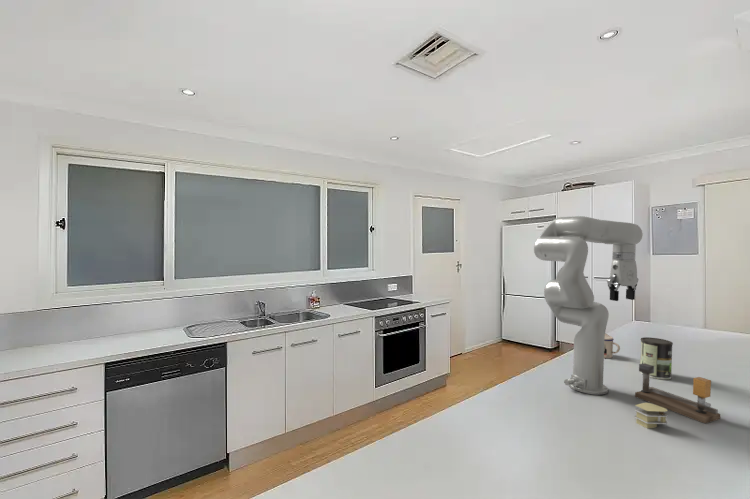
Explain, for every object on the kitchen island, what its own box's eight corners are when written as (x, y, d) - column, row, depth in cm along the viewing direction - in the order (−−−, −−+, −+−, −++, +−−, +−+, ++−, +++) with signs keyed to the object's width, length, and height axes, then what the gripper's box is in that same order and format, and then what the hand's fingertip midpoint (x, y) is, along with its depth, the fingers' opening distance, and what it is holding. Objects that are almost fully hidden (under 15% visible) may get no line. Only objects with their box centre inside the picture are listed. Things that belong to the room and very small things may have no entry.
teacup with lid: (586, 354, 175) (587, 330, 175) (595, 351, 180) (596, 327, 180) (615, 361, 165) (615, 335, 165) (623, 358, 171) (624, 333, 170)
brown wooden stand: (705, 423, 109) (706, 387, 109) (633, 396, 128) (634, 365, 128) (720, 418, 112) (721, 383, 112) (648, 392, 131) (649, 362, 131)
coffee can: (671, 374, 150) (672, 340, 150) (671, 381, 142) (673, 345, 141) (639, 368, 156) (641, 335, 156) (639, 375, 148) (640, 340, 148)
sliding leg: (704, 413, 111) (705, 381, 111) (692, 409, 114) (693, 378, 114) (713, 410, 113) (714, 379, 113) (701, 406, 116) (702, 376, 116)
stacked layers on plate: (652, 436, 102) (653, 416, 102) (623, 420, 111) (623, 402, 110) (679, 431, 104) (680, 412, 104) (649, 417, 113) (649, 399, 113)
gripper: (618, 257, 140) (617, 302, 141) (647, 257, 147) (646, 300, 147) (599, 256, 147) (598, 299, 148) (628, 256, 154) (626, 297, 154)
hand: (622, 299), depth 148 cm, fingers open, 9 cm apart
